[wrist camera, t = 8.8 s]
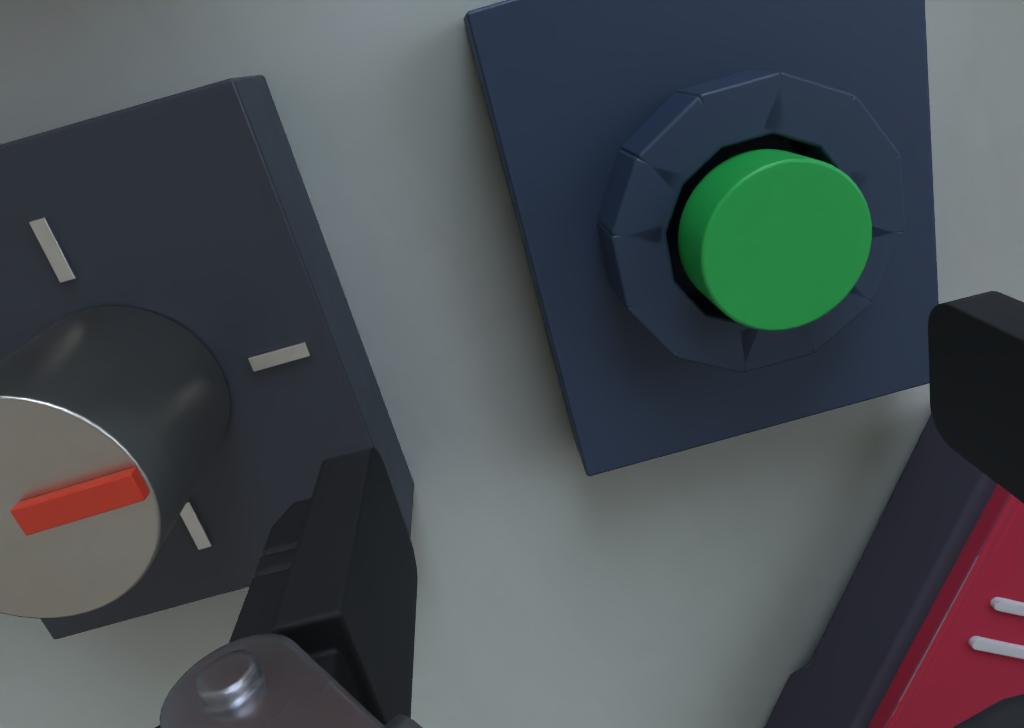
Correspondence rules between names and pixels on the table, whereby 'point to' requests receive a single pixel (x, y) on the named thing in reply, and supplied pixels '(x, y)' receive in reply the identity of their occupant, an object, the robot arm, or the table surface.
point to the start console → (672, 178)
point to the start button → (775, 238)
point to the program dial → (99, 454)
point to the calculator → (923, 608)
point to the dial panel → (200, 308)
